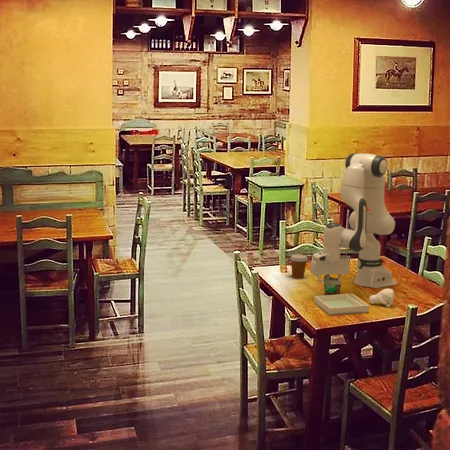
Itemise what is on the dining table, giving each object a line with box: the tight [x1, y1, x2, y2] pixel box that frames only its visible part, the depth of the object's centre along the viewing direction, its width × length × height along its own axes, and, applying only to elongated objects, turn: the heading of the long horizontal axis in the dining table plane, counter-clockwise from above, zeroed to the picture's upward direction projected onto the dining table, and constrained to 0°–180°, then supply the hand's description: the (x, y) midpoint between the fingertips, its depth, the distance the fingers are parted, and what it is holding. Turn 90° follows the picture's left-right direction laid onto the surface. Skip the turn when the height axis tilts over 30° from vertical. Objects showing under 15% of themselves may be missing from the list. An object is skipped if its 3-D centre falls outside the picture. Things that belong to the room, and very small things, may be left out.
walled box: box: [314, 293, 370, 316], centre depth 334 cm, size 20×18×4 cm
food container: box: [322, 274, 343, 296], centre depth 349 cm, size 12×6×10 cm, turn 23°
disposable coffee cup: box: [289, 253, 308, 280], centre depth 381 cm, size 10×10×12 cm
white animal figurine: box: [368, 288, 395, 308], centre depth 339 cm, size 6×8×12 cm
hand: (329, 282), depth 348 cm, fingers open, 8 cm apart
